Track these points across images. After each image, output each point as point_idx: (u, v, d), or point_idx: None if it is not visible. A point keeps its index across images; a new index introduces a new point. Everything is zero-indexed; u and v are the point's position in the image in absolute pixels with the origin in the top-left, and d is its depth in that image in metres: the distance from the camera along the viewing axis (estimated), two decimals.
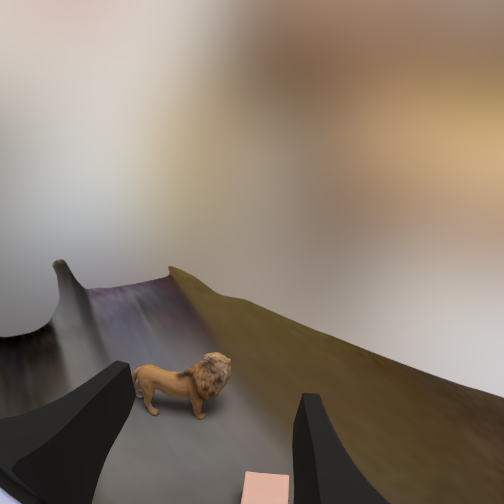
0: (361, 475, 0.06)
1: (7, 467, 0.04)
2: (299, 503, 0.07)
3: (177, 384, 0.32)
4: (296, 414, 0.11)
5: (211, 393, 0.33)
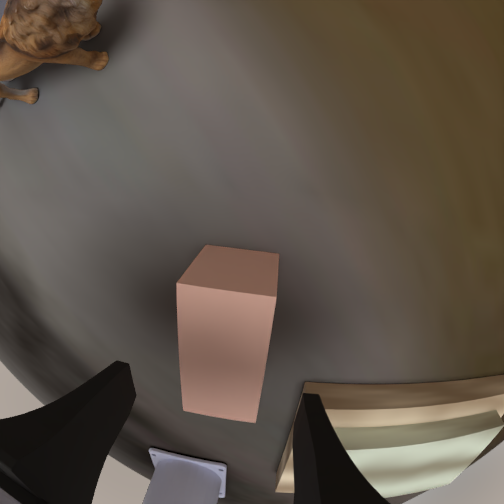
0: (361, 475, 0.06)
1: (7, 467, 0.04)
2: (299, 503, 0.07)
3: (2, 66, 0.08)
4: (296, 414, 0.11)
5: (67, 40, 0.08)
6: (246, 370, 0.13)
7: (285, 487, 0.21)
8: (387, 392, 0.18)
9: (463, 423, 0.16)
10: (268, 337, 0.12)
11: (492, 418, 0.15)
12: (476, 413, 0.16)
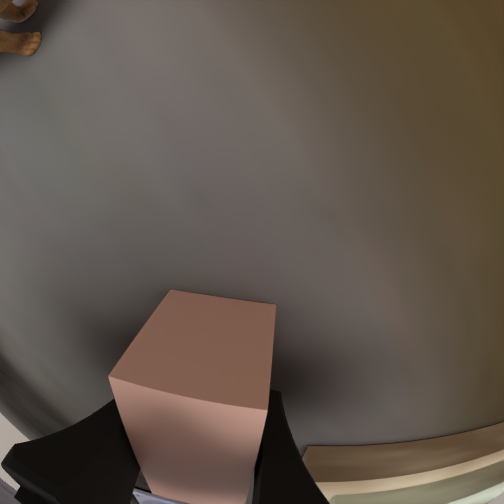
0: (308, 476, 0.06)
1: (50, 496, 0.04)
2: (253, 500, 0.07)
3: None
4: None
5: None
6: (225, 475, 0.08)
7: None
8: (406, 452, 0.13)
9: (485, 474, 0.10)
10: (255, 450, 0.07)
11: None
12: (499, 460, 0.11)
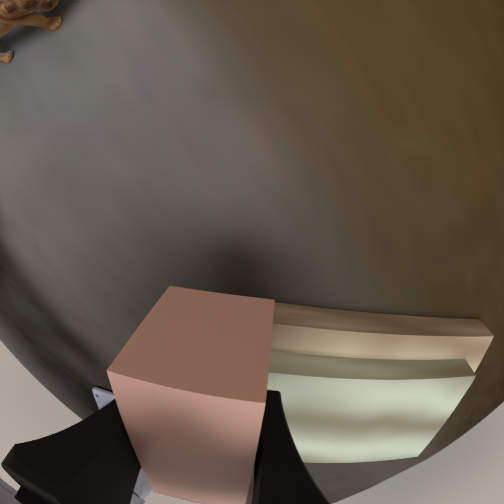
0: (308, 476, 0.06)
1: (51, 496, 0.04)
2: (253, 500, 0.07)
3: None
4: None
5: (26, 4, 0.09)
6: (225, 472, 0.08)
7: None
8: (317, 313, 0.18)
9: (420, 366, 0.16)
10: (254, 445, 0.07)
11: (459, 366, 0.16)
12: (438, 358, 0.17)
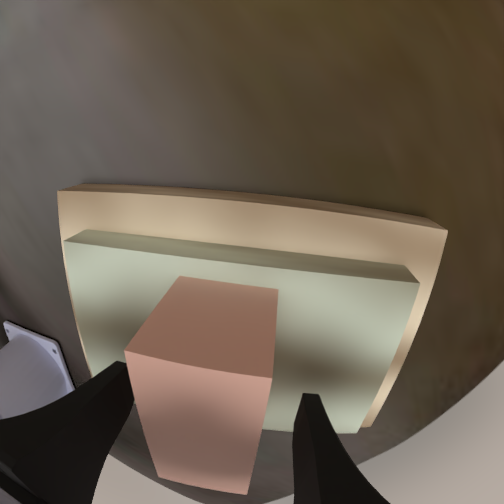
0: (361, 475, 0.06)
1: (7, 467, 0.04)
2: (299, 503, 0.07)
3: None
4: (296, 414, 0.11)
5: None
6: (231, 452, 0.08)
7: None
8: (165, 189, 0.15)
9: (312, 260, 0.12)
10: (260, 422, 0.08)
11: (390, 270, 0.12)
12: (352, 257, 0.13)
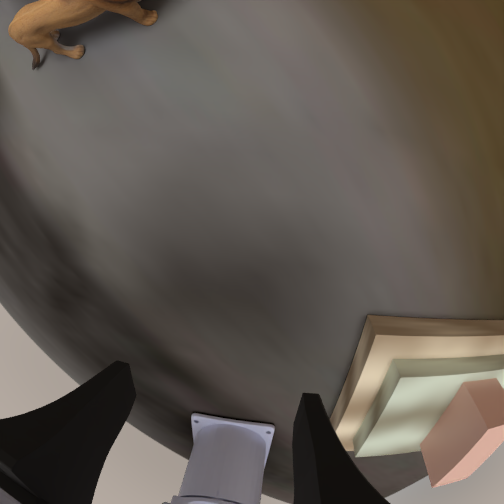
0: (361, 475, 0.06)
1: (7, 467, 0.04)
2: (299, 503, 0.07)
3: (68, 9, 0.09)
4: (296, 414, 0.11)
5: None
6: (486, 454, 0.13)
7: None
8: (439, 324, 0.19)
9: (503, 359, 0.17)
10: None
11: None
12: None
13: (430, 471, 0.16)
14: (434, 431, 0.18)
